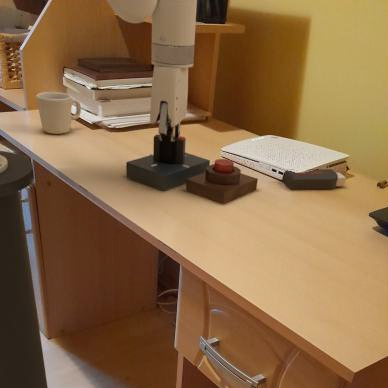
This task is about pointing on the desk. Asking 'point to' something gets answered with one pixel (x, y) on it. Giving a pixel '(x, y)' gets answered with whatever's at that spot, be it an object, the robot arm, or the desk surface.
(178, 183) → the panel
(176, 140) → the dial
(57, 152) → the desk surface
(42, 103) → the cup
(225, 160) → the button
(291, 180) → the usb drive
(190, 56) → the robot arm
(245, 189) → the button block
